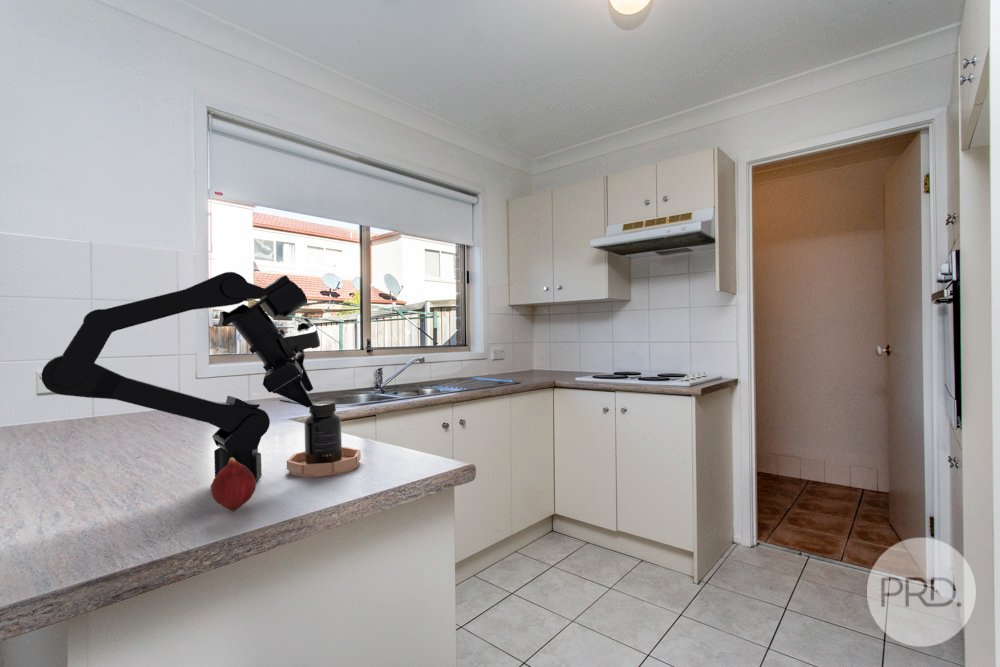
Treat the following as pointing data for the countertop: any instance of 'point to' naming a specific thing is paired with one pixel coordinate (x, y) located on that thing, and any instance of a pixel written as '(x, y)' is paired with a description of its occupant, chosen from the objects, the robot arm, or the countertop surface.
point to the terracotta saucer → (324, 465)
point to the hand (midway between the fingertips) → (310, 397)
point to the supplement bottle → (323, 434)
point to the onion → (233, 485)
